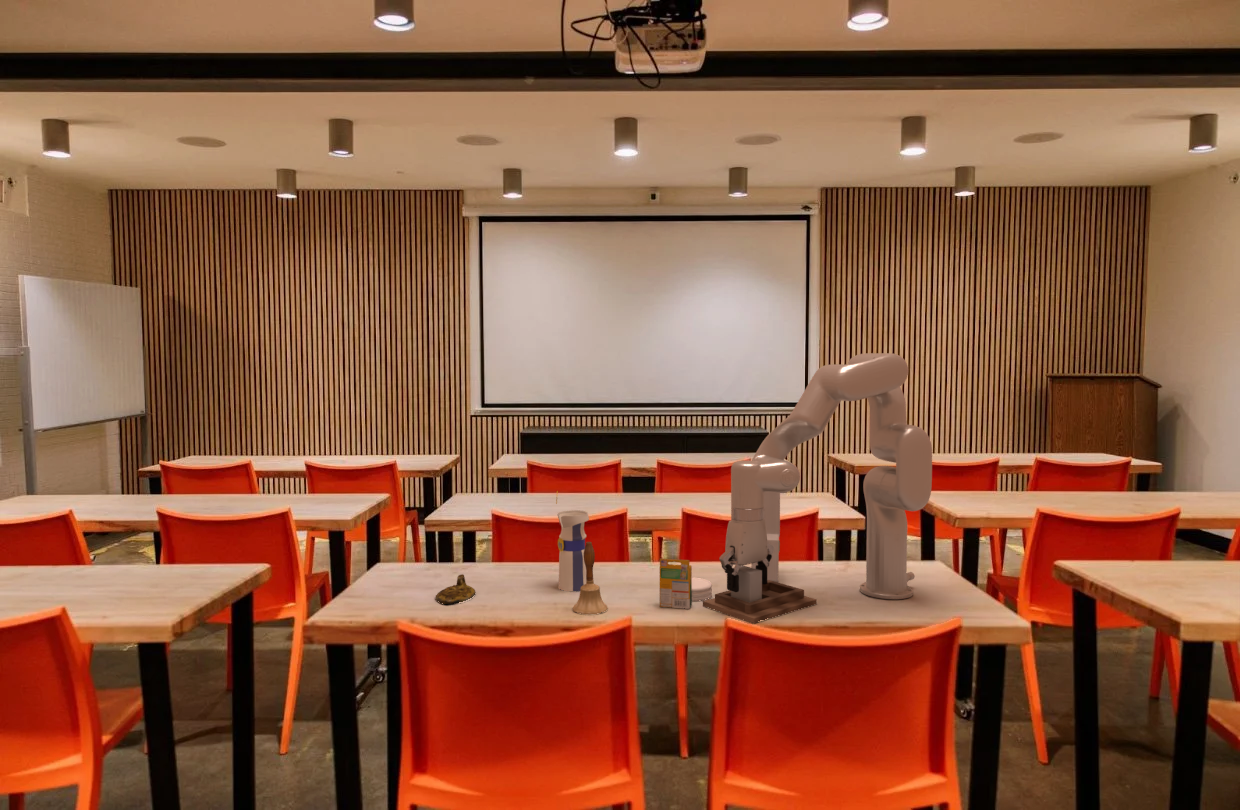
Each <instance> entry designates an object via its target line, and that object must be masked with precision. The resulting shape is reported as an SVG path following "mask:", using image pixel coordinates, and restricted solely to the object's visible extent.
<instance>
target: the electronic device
mask: <svg viewBox="0 0 1240 810" xmlns="http://www.w3.org/2000/svg"><path fill="white" fill-rule="evenodd" d="M764 509H765V510H764V519H765V524H766V531H767V543H768V544H770V545H772V546H774V550H773V553H772V558H771V560H770V562H769V567H767V580H771V581H775V582H778V583H779V557H780V556H779V555H780V554H779V553H780V552H781V550H780V548H781V547H780V546H781V542H780V537H781V536H780V535H781V533H780V532H781V527H780V526H781V493H779V492H767V491H766V492H764ZM756 565H758V564H757V562H756V563H752V564H751V566H750V568H754V569H756Z"/></svg>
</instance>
